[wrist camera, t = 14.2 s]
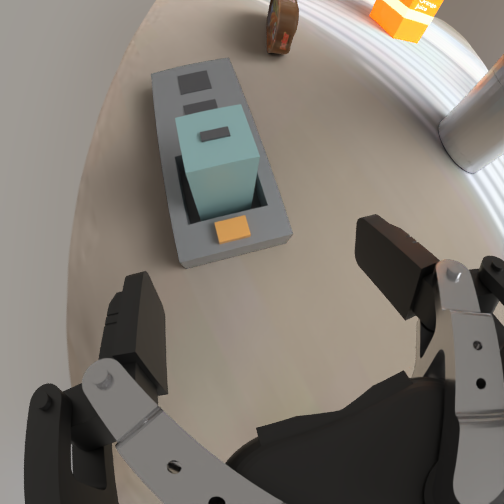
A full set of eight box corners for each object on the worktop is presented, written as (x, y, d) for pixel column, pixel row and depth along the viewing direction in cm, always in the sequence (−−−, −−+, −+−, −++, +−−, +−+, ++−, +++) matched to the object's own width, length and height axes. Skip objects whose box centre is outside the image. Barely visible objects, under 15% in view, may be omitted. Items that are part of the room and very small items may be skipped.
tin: (266, 16, 33) (271, -22, 25) (285, 18, 33) (292, -20, 25) (266, 64, 30) (274, 14, 21) (290, 67, 30) (302, 17, 22)
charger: (237, 167, 26) (241, 102, 17) (250, 209, 25) (260, 154, 16) (191, 178, 25) (174, 116, 16) (201, 221, 24) (185, 171, 15)
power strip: (156, 90, 28) (150, 70, 24) (228, 75, 29) (228, 53, 25) (186, 268, 23) (178, 261, 20) (286, 243, 25) (294, 231, 21)
